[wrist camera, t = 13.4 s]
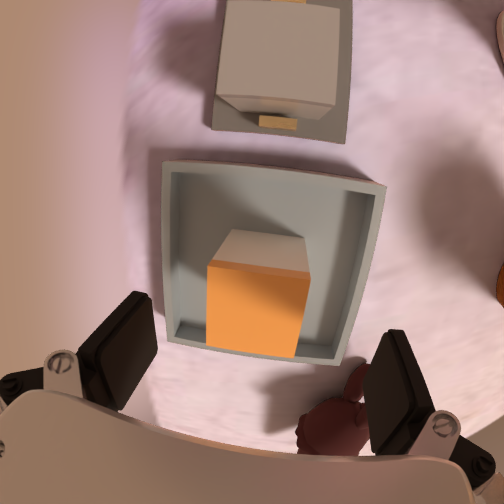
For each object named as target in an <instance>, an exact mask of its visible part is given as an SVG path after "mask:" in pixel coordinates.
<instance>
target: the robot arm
mask: <svg viewBox="0 0 504 504" xmlns="http://www.w3.org/2000/svg"><path fill="white" fill-rule="evenodd" d="M496 29H497V39H498V44H499V48H500V52H501V55H502V59H503V62H504V10H503V11H502V12H501V13H500V14H499V16H498V19H497V26H496ZM157 350H158V346H157V339H156V332H155V324H154V316H153V308H152V300H151V298H149V297H148V295H147V294H146V293H143V292H138V291H133V292H132V293H131V294H130V295H129V296H128V297H127V298H126V299H125V300H124V301H123V302H122V303H121V304H120V305H119V306H118V307H117V308H116V309H115V310H114V311H113V312H112V313H111V314H110V315H109V316H108V317H107V318H106V319H105V320H104V321H103V323H102V324H101V325H100V326H99V327H98V328H97V329H96V330H95V331H94V332H93V333H92V334H91V335H90V336H89V338H88V339H87V340H86V341H85V342H84V343H83V344H82V345H81V346H80V347H79V349H78V351H77V353H76V354H75V353H73V352H71V351H69V350H58V351H55V352H53V353H51V354H50V355H49V356H48V357H47V358H46V360H45V361H44V367H41V368H37V369H31V370H26V371H20V372H15V373H10V374H7V375H6V376H4V377H3V378H2V379H1V380H0V504H504V477H503V476H502V475H501V473H500V472H498V473H497V474H496V473H495V468H496V465H495V461H494V458H493V457H492V455H491V454H489V453H488V452H487V451H485V450H483V449H482V448H480V447H479V446H477V445H475V444H474V443H472V442H470V441H469V440H467V439H466V438H464V437H462V436H461V435H460V431H461V425H460V422H459V420H458V419H457V417H456V416H455V415H453V414H452V413H451V412H448V411H444V410H439V411H435V408H434V405H433V402H432V399H431V396H430V394H429V391H428V388H427V385H426V383H425V380H424V377H423V375H422V372H421V370H420V367H419V365H418V363H417V361H416V358H415V356H414V353H413V351H412V349H411V346H410V344H409V342H408V339H407V337H406V335H405V332H404V331H403V330H396V329H389V330H388V332H385V333H384V334H383V336H382V338H381V341H380V343H379V346H378V348H377V350H376V353H375V355H374V357H373V359H372V362H371V364H370V366H369V368H368V370H367V373H366V375H365V377H364V379H363V383H362V388H363V394H364V400H365V406H366V413H367V420H368V427H369V435H370V443H371V450H372V452H373V453H375V455H376V456H324V455H306V454H293V453H283V452H274V451H267V450H259V449H253V448H246V447H241V446H235V445H230V444H225V443H220V442H215V441H211V440H206V439H202V438H198V437H194V436H190V435H186V434H183V433H179V432H175V431H172V430H168V429H165V428H162V427H159V426H156V425H152V424H149V423H146V422H144V421H141V420H138V419H135V418H132V417H129V416H126V415H124V414H121V413H118V410H122V409H123V408H124V406H125V405H126V403H127V401H128V400H129V398H130V397H131V395H132V393H133V391H134V390H135V388H136V386H137V385H138V383H139V382H140V380H141V378H142V377H143V375H144V374H145V372H146V370H147V369H148V367H149V365H150V364H151V362H152V361H153V359H154V357H155V356H156V354H157Z"/></svg>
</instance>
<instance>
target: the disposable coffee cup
mask: <svg viewBox="0 0 504 504" xmlns="http://www.w3.org/2000/svg"><path fill="white" fill-rule="evenodd" d="M496 292H497V299H498V301H499V303H500V304H501V305H502V306H503V308H504V264H503V266H502V268H501V271H500V273H499V277H498V281H497V287H496Z"/></svg>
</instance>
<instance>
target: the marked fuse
mask: <svg viewBox="0 0 504 504" xmlns="http://www.w3.org/2000/svg"><path fill="white" fill-rule="evenodd" d="M310 282H311V277H310V270H309V263H308V257H307V250H306V244H305V238H301V237H293V236H285V235H278V234H270V233H262V232H254V231H246V230H238V229H232V230H231V232H230V233H229V235H228V236H227V238H226V239H225V241H224V242H223V244H222V245H221V247H220V248H219V250H218V251H217V252H216V254H215V255H214V257H213V258H212V260H211V261H210V263H209V265H208V266H207V308H206V346H212V347H217V348H223V349H229V350H235V351H241V352H248V353H255V354H262V355H269V356H277V357H285V358H294V355H295V351H296V347H297V342H298V338H299V334H300V329H301V325H302V321H303V316H304V311H305V307H306V302H307V297H308V292H309V287H310Z"/></svg>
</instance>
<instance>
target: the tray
mask: <svg viewBox="0 0 504 504" xmlns="http://www.w3.org/2000/svg"><path fill="white" fill-rule="evenodd" d="M386 189H387V187H386V186H384V185H382V184H379V183H377V182H374V181H369V180H364V179H358V178H353V177H347V176H341V175H335V174H328V173H322V172H315V171H308V170H300V169H292V168H284V167H275V166H266V165H256V164H245V163H233V162H220V161H203V160H182V159H176V160H169V161H162V182H161V248H162V275H163V293H164V308H165V320H166V331H167V341H168V342H172V343H177V344H181V345H186V346H191V347H196V348H201V349H206V350H212V351H217V352H223V353H229V354H235V355H242V356H248V357H255V358H263V359H270V360H279V361H287V362H297V363H307V364H319V365H333V366H340V364H341V361H342V358H343V355H344V352H345V350H346V347H347V344H348V341H349V338H350V335H351V332H352V329H353V326H354V323H355V319H356V316H357V313H358V310H359V306H360V303H361V299H362V296H363V292H364V289H365V285H366V281H367V278H368V274H369V270H370V266H371V262H372V258H373V254H374V249H375V245H376V241H377V236H378V231H379V227H380V222H381V217H382V211H383V206H384V200H385V195H386ZM232 229H238V230H246V231H254V232H262V233H270V234H278V235H285V236H293V237H301V238H305V244H306V250H307V257H308V263H309V270H310V277H311V282H310V287H309V292H308V297H307V302H306V307H305V311H304V316H303V321H302V325H301V329H300V334H299V338H298V342H297V347H296V351H295V355H294V358H285V357H277V356H269V355H262V354H255V353H248V352H241V351H235V350H229V349H223V348H217V347H212V346H206V308H207V266H208V265H209V263H210V261H211V260H212V258H213V257H214V255H215V254H216V252H217V251H218V250H219V248H220V247H221V245H222V244H223V242H224V241H225V239H226V238H227V236H228V235H229V233H230V232H231V230H232Z"/></svg>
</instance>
